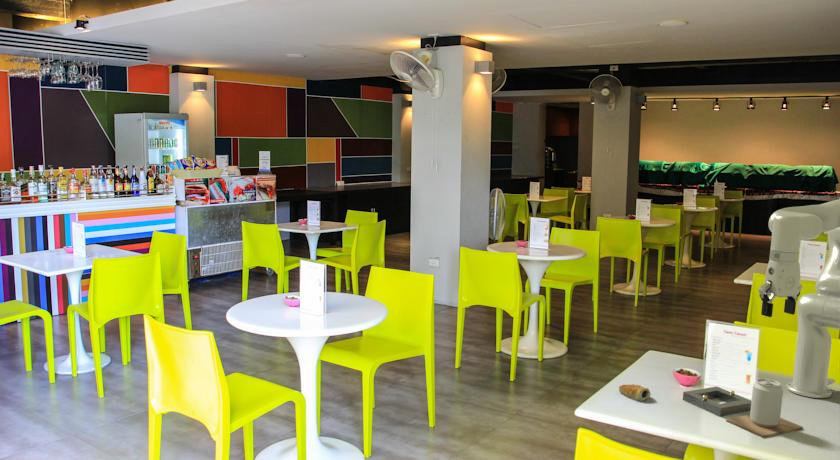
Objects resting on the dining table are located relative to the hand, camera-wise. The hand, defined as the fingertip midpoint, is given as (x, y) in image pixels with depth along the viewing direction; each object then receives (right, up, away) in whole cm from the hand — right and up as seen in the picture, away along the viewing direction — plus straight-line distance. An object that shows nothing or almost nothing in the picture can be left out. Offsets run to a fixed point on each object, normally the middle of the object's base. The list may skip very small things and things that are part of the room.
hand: (777, 314), depth 211 cm
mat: (-9, -30, -10) cm, 32 cm away
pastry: (-39, -26, +9) cm, 48 cm away
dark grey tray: (-16, -27, +4) cm, 32 cm away
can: (-9, -29, -10) cm, 32 cm away
